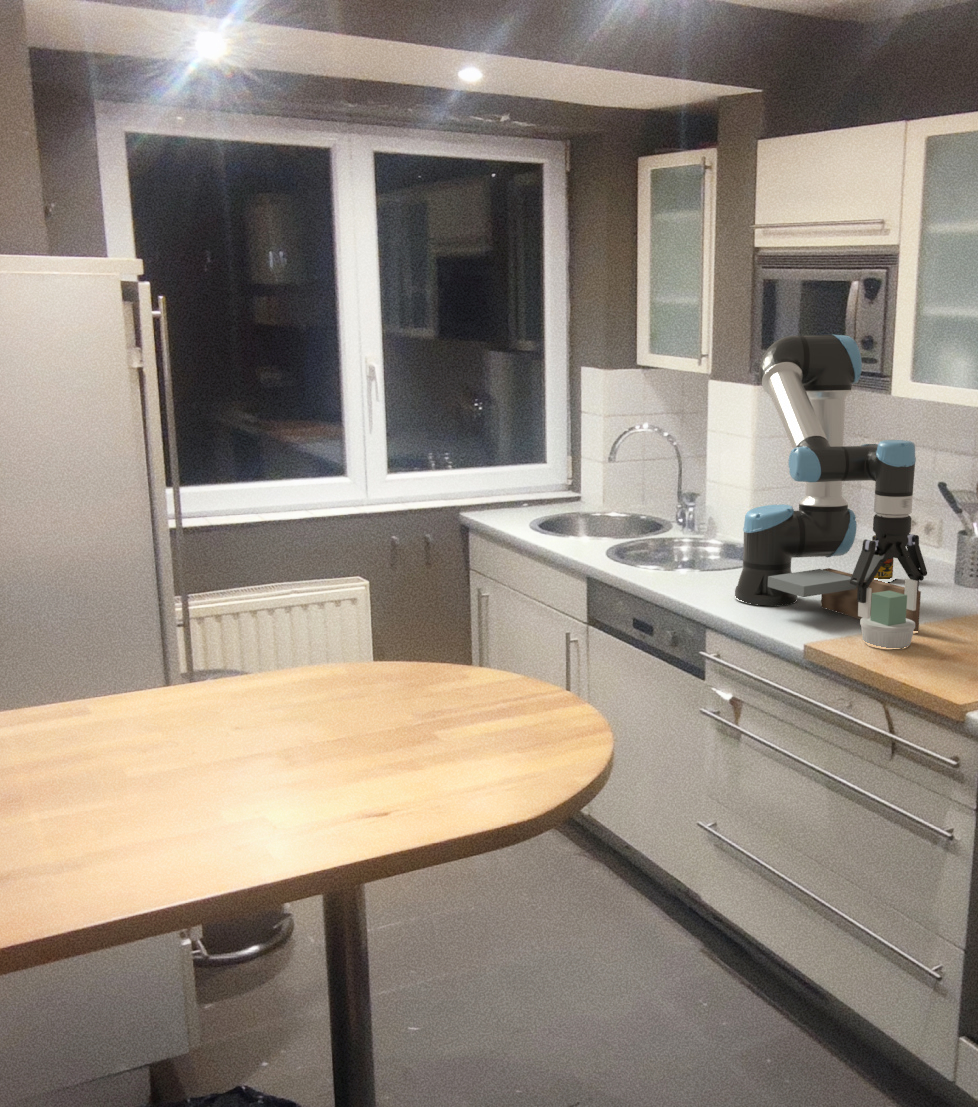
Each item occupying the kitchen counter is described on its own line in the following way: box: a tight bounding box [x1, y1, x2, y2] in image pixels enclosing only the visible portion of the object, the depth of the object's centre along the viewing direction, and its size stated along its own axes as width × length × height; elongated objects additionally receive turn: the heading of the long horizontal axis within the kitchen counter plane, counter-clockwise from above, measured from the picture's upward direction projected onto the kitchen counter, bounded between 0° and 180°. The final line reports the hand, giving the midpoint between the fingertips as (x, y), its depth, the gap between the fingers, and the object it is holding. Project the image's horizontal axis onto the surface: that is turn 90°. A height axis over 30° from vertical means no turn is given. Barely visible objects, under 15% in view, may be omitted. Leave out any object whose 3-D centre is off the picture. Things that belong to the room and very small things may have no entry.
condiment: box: [871, 534, 895, 579], centre depth 295 cm, size 7×8×12 cm
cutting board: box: [820, 567, 922, 632], centre depth 256 cm, size 28×2×10 cm, turn 27°
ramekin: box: [859, 616, 915, 648], centre depth 237 cm, size 11×11×5 cm
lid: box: [768, 568, 856, 598], centre depth 258 cm, size 12×16×2 cm
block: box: [870, 590, 907, 626], centre depth 235 cm, size 5×5×6 cm
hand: (887, 613), depth 236 cm, fingers open, 13 cm apart
